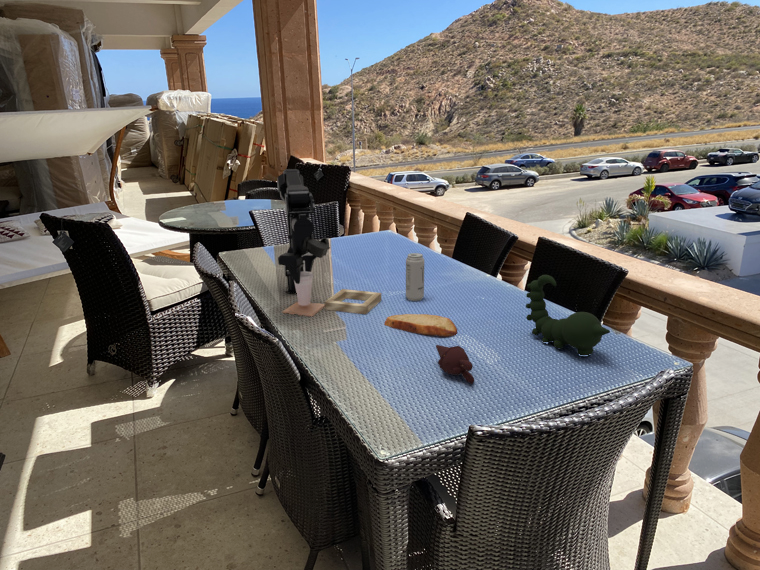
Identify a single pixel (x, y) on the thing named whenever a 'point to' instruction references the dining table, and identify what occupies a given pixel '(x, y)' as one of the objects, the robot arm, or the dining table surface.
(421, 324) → the slice of bread
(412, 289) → the energy drink can
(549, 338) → the toy figurine
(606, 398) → the dining table surface
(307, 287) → the smoothie
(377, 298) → the holder
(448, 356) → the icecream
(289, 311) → the coaster
